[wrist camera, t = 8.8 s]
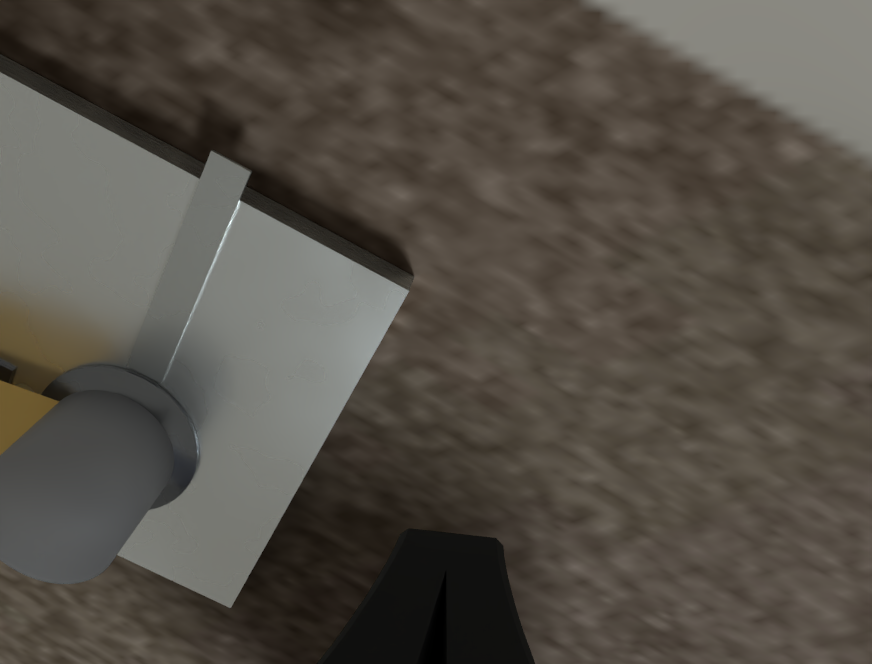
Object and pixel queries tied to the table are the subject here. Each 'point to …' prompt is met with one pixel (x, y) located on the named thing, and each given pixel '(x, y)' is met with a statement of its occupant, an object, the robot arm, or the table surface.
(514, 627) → the robot arm
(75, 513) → the handle
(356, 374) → the base
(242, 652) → the table surface
